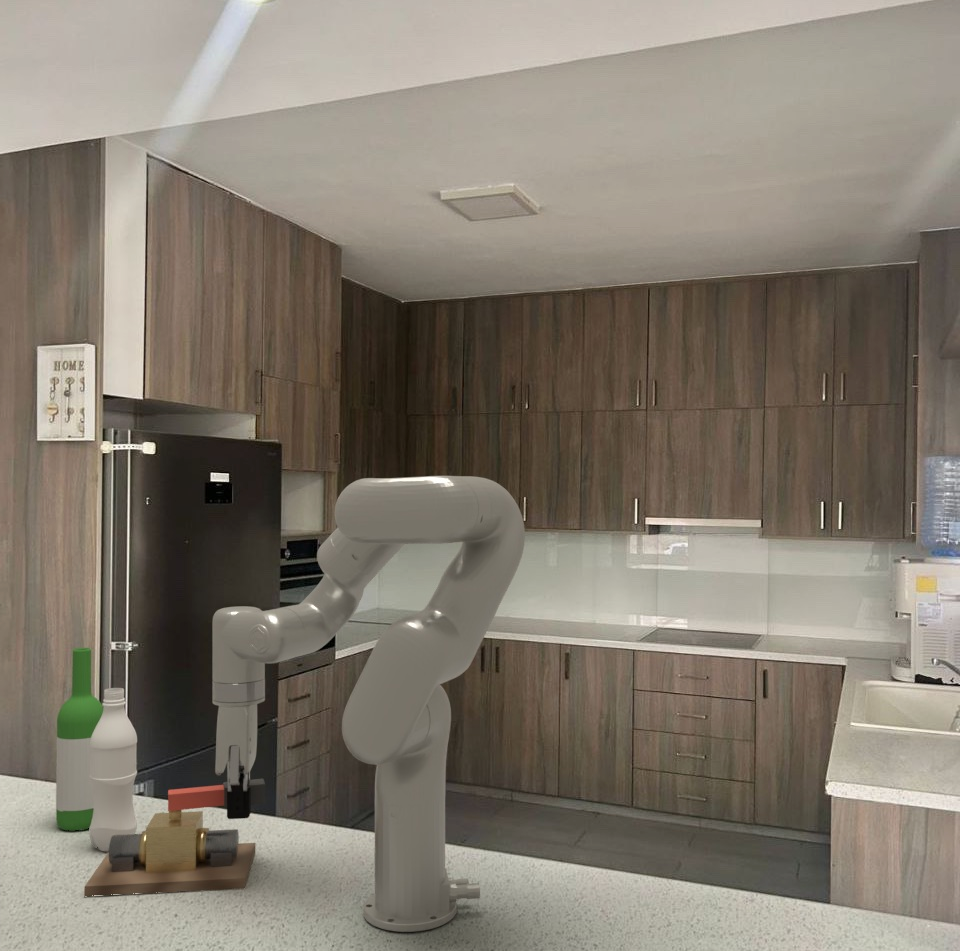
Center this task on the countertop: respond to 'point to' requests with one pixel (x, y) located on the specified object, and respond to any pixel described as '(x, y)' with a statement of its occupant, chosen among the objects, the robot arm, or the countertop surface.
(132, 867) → the ball valve
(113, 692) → the water bottle
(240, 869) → the mounting board
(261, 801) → the valve lever
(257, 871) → the countertop surface
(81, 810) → the wine bottle
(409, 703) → the robot arm
